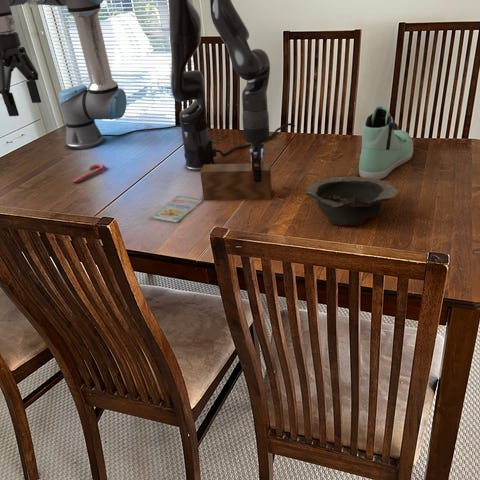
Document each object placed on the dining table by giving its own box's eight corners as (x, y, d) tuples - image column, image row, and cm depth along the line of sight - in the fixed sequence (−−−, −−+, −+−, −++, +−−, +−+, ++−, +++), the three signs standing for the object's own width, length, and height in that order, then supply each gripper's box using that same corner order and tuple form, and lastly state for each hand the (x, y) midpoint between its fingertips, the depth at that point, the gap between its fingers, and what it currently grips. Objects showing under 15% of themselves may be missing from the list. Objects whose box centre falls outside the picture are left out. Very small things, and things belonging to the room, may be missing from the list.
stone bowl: (342, 242, 123) (342, 209, 118) (290, 211, 143) (288, 182, 139) (415, 214, 131) (417, 183, 127) (356, 189, 152) (356, 161, 147)
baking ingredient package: (151, 216, 142) (178, 195, 153) (151, 217, 142) (178, 197, 153) (176, 221, 138) (202, 199, 149) (176, 222, 138) (202, 201, 150)
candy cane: (65, 180, 171) (64, 177, 170) (98, 165, 181) (97, 162, 180) (76, 184, 168) (75, 180, 167) (108, 168, 178) (107, 164, 177)
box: (203, 200, 150) (200, 172, 145) (206, 192, 155) (203, 164, 150) (270, 199, 148) (269, 170, 143) (271, 191, 152) (270, 162, 147)
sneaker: (418, 146, 175) (426, 90, 164) (396, 184, 150) (403, 120, 139) (381, 142, 181) (385, 87, 170) (353, 178, 156) (357, 116, 145)
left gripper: (-10, 39, 122) (16, 121, 133) (37, 25, 143) (56, 97, 154) (-37, 41, 123) (-9, 122, 134) (13, 26, 144) (34, 97, 155)
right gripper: (267, 131, 132) (269, 186, 141) (269, 115, 144) (271, 166, 153) (240, 132, 133) (244, 186, 141) (245, 116, 145) (248, 167, 154)
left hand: (25, 109), depth 144 cm, fingers open, 13 cm apart
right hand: (258, 176), depth 147 cm, fingers open, 7 cm apart
